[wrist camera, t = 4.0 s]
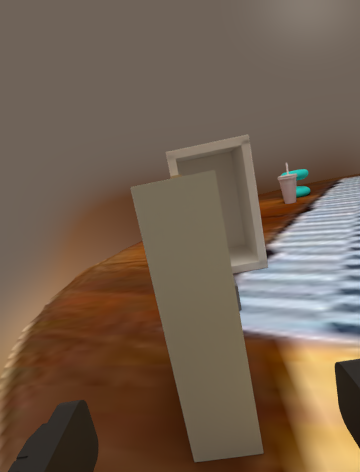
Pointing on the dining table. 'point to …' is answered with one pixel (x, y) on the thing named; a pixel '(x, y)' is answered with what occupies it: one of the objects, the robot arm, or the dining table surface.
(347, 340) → the dining table surface
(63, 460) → the robot arm
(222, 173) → the hinge cabinet
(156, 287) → the door panel
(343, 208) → the dining table surface
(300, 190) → the donuts
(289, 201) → the smoothie
